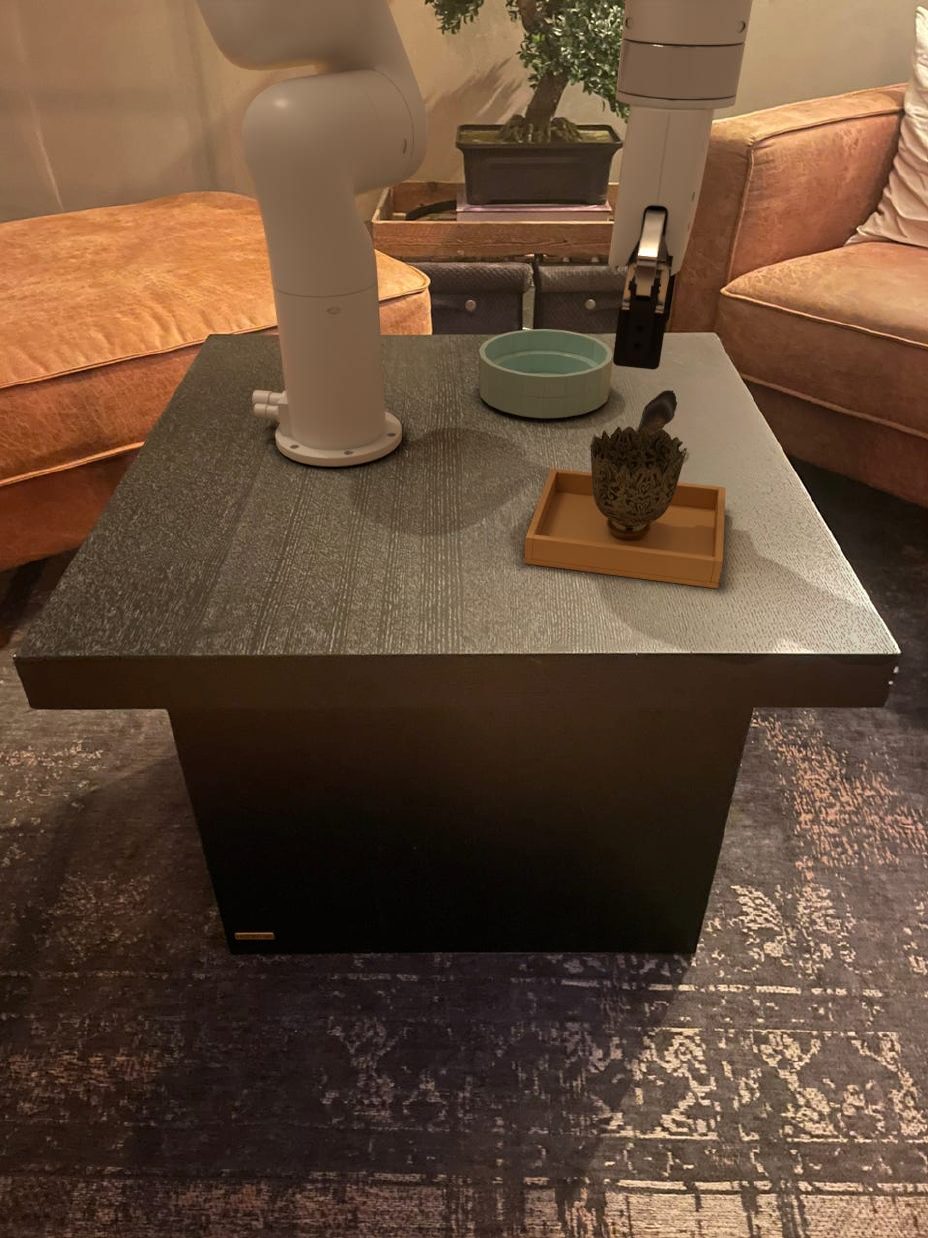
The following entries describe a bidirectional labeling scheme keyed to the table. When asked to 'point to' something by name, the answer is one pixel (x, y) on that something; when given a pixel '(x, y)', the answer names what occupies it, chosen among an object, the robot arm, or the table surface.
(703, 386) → the table surface
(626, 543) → the tray
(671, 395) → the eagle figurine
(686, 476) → the table surface
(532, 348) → the bowl
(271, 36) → the robot arm
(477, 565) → the table surface
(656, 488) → the cup
